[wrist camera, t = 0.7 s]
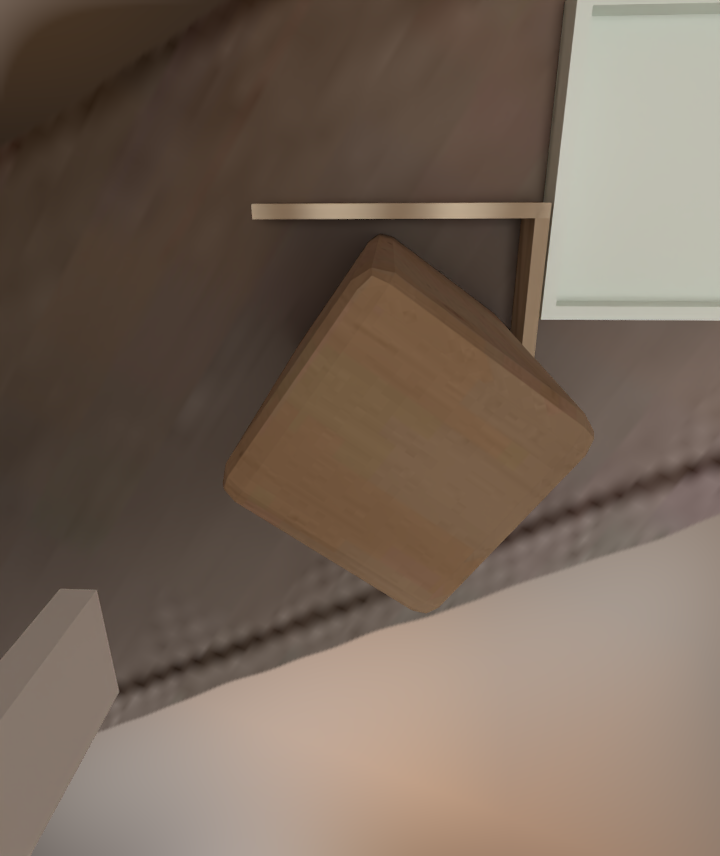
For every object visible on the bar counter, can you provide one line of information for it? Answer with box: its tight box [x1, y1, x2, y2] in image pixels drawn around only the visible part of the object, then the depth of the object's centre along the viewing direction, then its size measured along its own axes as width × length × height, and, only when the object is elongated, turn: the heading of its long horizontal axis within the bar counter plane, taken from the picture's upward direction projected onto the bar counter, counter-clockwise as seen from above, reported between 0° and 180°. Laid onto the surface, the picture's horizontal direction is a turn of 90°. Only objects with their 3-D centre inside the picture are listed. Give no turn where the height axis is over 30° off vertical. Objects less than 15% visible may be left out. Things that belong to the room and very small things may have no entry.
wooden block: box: [223, 234, 594, 613], centre depth 29 cm, size 10×10×20 cm
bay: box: [251, 202, 552, 357], centre depth 36 cm, size 17×17×4 cm
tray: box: [539, 0, 720, 320], centre depth 32 cm, size 17×17×2 cm
